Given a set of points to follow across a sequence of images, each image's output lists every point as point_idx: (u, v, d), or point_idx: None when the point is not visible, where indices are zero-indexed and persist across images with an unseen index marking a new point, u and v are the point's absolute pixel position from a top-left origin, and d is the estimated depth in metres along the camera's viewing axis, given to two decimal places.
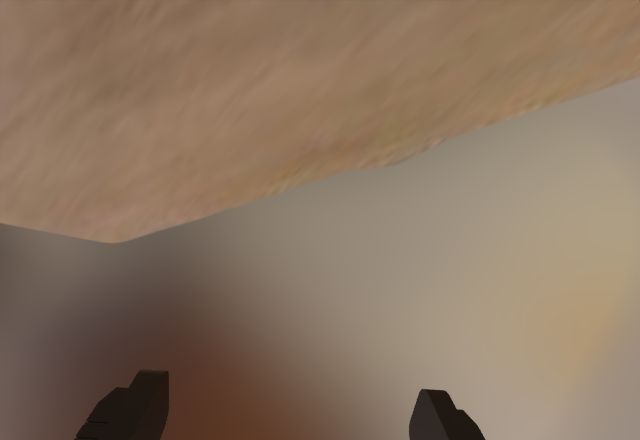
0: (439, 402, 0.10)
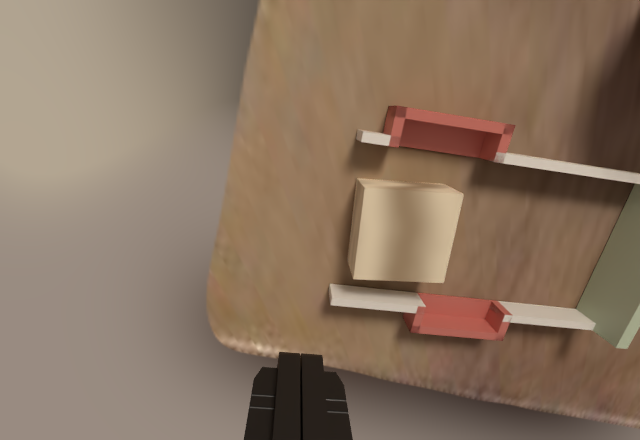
0: (309, 364, 0.10)
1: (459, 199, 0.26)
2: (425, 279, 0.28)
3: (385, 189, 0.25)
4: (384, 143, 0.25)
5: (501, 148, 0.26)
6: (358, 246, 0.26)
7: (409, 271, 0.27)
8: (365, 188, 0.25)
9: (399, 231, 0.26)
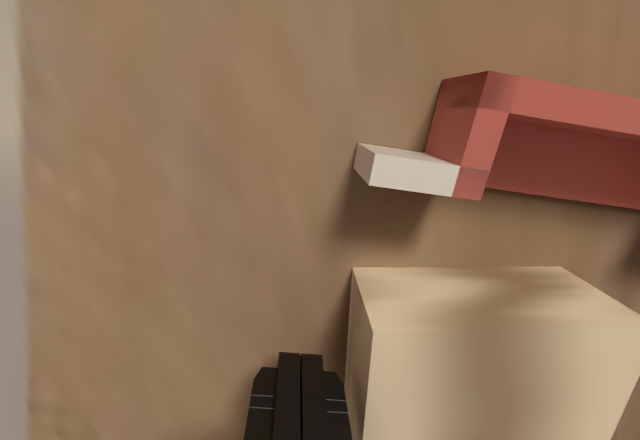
0: (309, 364, 0.10)
1: None
2: None
3: (434, 330, 0.09)
4: (439, 189, 0.08)
5: None
6: None
7: None
8: (375, 332, 0.08)
9: (472, 425, 0.10)
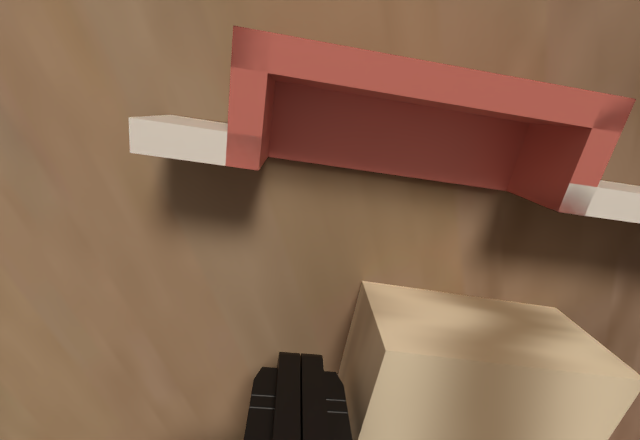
0: (309, 364, 0.10)
1: (631, 391, 0.10)
2: None
3: (442, 355, 0.09)
4: (210, 157, 0.08)
5: (585, 172, 0.08)
6: None
7: None
8: (387, 350, 0.09)
9: None
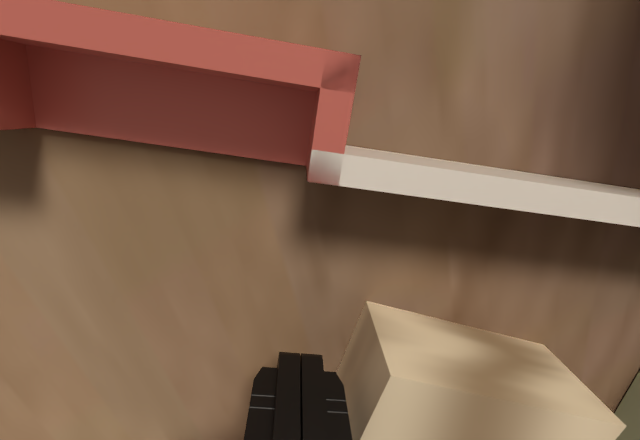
0: (309, 364, 0.10)
1: (611, 434, 0.10)
2: None
3: (443, 385, 0.09)
4: None
5: (326, 137, 0.08)
6: None
7: None
8: (391, 375, 0.09)
9: None
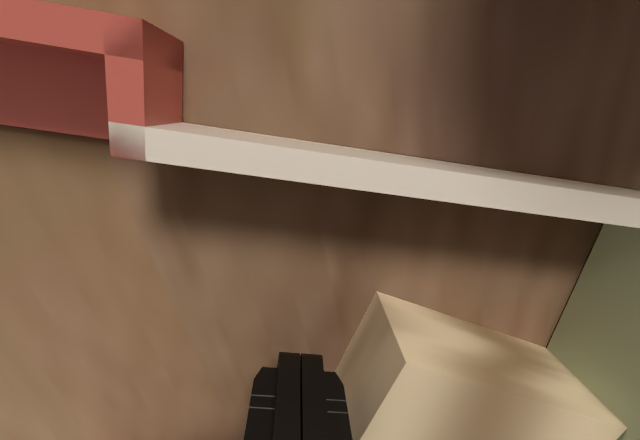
0: (309, 364, 0.10)
1: (612, 436, 0.10)
2: None
3: (455, 376, 0.09)
4: None
5: (122, 108, 0.07)
6: None
7: None
8: (406, 362, 0.09)
9: None
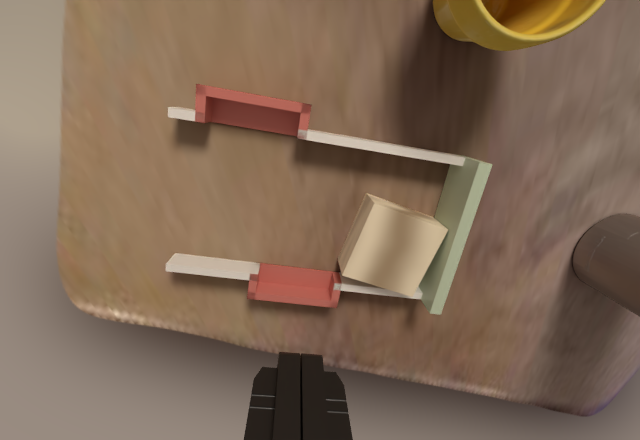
0: (309, 364, 0.10)
1: (444, 232, 0.31)
2: (399, 290, 0.33)
3: (389, 208, 0.30)
4: (190, 118, 0.27)
5: (302, 126, 0.28)
6: (354, 249, 0.31)
7: (388, 280, 0.33)
8: (374, 203, 0.30)
9: (390, 246, 0.31)
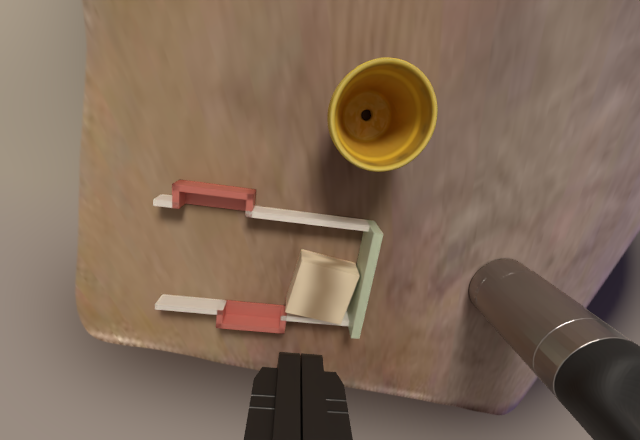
0: (309, 363, 0.10)
1: (356, 278, 0.42)
2: (329, 320, 0.44)
3: (313, 264, 0.42)
4: (169, 206, 0.39)
5: (248, 208, 0.40)
6: (291, 293, 0.43)
7: (320, 313, 0.44)
8: (302, 261, 0.41)
9: (318, 289, 0.43)
